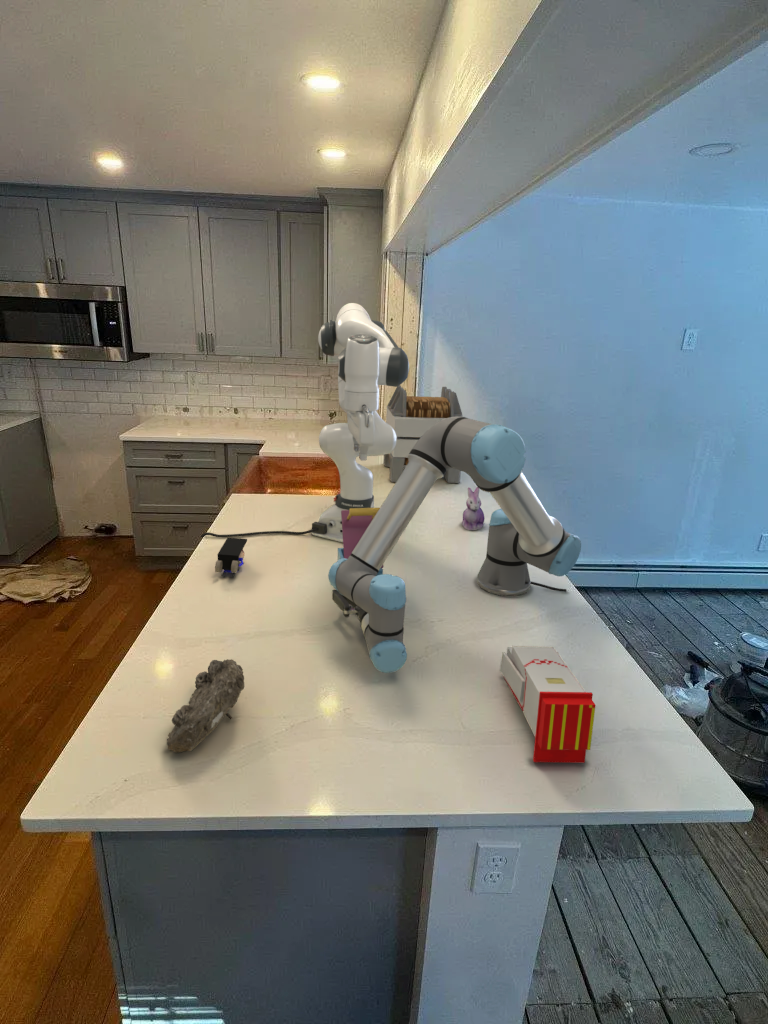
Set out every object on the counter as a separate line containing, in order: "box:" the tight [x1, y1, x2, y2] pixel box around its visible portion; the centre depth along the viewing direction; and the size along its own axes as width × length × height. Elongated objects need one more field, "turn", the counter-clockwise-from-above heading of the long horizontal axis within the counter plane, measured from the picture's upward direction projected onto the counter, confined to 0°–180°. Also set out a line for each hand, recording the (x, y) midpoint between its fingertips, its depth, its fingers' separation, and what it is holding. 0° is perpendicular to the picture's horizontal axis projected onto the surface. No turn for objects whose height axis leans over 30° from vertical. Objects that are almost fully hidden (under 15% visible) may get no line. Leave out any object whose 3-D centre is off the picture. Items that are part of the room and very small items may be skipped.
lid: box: [341, 507, 384, 569], centre depth 145 cm, size 16×10×9 cm
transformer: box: [383, 384, 463, 484], centre depth 268 cm, size 34×33×41 cm
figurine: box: [461, 486, 485, 531], centre depth 207 cm, size 9×10×15 cm
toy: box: [499, 645, 597, 764], centre depth 112 cm, size 12×13×30 cm
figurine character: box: [214, 537, 248, 578], centre depth 166 cm, size 7×8×15 cm
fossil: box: [166, 658, 245, 754], centre depth 106 cm, size 22×10×15 cm
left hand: (359, 455), depth 148 cm, fingers open, 8 cm apart
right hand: (361, 579), depth 152 cm, fingers closed on chest, 10 cm apart
